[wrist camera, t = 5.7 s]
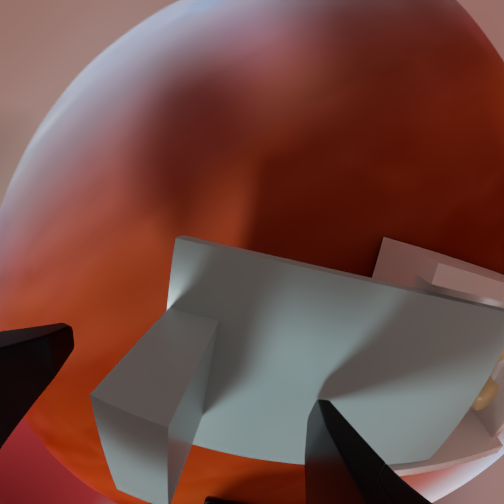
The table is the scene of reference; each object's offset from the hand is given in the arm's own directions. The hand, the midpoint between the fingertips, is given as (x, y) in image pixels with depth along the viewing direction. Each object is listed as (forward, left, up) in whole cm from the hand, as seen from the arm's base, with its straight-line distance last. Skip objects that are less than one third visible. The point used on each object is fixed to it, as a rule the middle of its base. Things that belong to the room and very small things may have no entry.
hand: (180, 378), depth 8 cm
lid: (0, -6, -1) cm, 6 cm away
